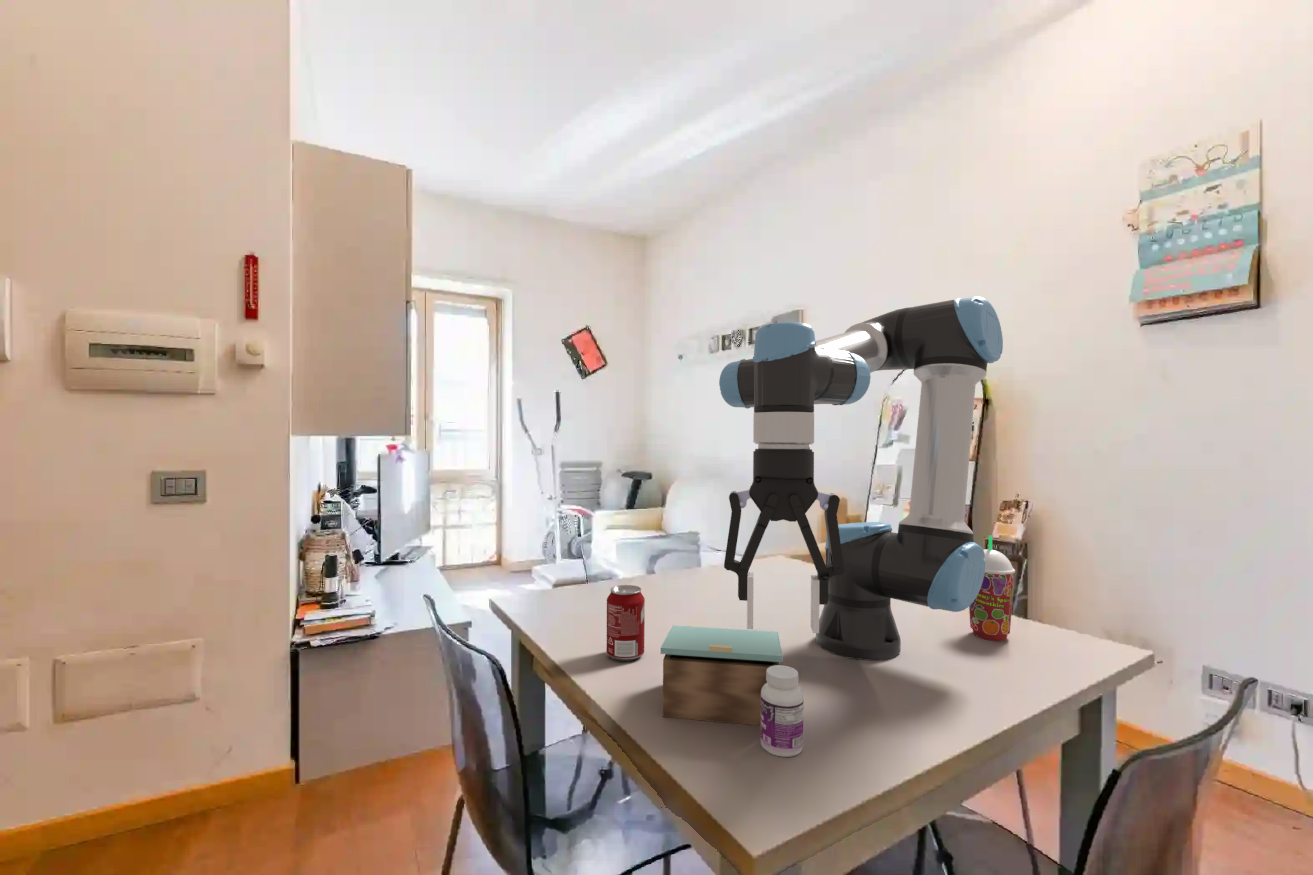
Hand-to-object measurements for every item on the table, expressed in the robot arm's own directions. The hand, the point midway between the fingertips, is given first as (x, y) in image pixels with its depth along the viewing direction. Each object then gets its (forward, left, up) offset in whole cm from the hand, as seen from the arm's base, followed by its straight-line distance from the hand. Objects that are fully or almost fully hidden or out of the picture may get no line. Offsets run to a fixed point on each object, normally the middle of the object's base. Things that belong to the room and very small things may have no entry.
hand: (782, 627), depth 73 cm
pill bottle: (0, 0, -15) cm, 15 cm away
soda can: (+26, -26, -15) cm, 40 cm away
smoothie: (-43, -49, -15) cm, 67 cm away
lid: (+8, -11, -7) cm, 15 cm away
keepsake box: (+8, -11, -15) cm, 20 cm away
